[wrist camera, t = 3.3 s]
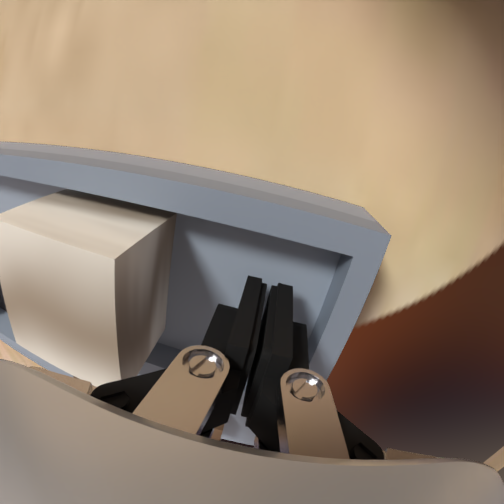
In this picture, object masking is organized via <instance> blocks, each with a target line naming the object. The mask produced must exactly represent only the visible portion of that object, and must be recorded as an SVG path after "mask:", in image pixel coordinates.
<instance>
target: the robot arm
mask: <svg viewBox="0 0 504 504" xmlns="http://www.w3.org/2000/svg"><path fill="white" fill-rule="evenodd" d="M266 289H267V284H266V283H262V278H258V277H254V276H250V275H248V277H247V280H246V284H245V287H244V290H243V294H242V297H241V300H240V303H239V307H238V308H235V307H231V306H227V305H223V304H218V305H217V308H216V310H215V312H214V315H213V317H212V320H211V322H210V324H209V327H208V329H207V332H206V334H205V336H204V339H203V341H202V343H201V345H195V346H190V347H187V348H185V349H183V350H182V351H181V352H180V353H179V354H178V355H177V356H176V358H175V359H174V360H173V361H172V363H171V364H170V365H169V367H168V368H166V369H162V370H158V371H154V372H151V373H147V374H143V375H139V376H135V377H130V378H126V379H122V380H118V381H113V382H109V383H105V384H102V385H100V386H98V387H95V386H92V384H91V382H89V381H85V380H81V379H77V378H74V377H70V376H66V375H63V374H59V373H56V372H52V371H49V370H46V369H43V368H40V367H33V366H32V367H27V366H24V365H21V364H18V363H15V362H13V361H8V360H3V359H0V504H504V483H503V481H502V479H501V477H500V475H499V474H498V472H497V471H496V470H495V469H494V468H492V467H490V466H488V465H486V464H484V463H480V462H477V461H473V460H467V459H459V458H436V457H434V456H428V455H422V454H416V453H410V452H405V451H400V450H395V449H390V448H387V449H386V450H385V451H383V450H382V449H381V448H380V447H379V446H378V445H377V443H375V442H374V441H373V440H372V439H371V438H369V437H368V436H367V435H366V434H364V433H363V432H362V431H361V430H360V429H358V428H357V427H356V426H355V425H354V424H352V423H351V422H350V421H349V420H347V419H346V418H345V417H344V416H343V415H341V414H340V413H339V412H338V411H337V410H336V407H335V404H334V400H333V397H332V393H331V390H330V387H329V385H328V383H327V381H326V380H325V379H324V378H323V377H322V376H321V375H319V374H318V373H316V372H314V371H311V370H309V357H308V338H307V325H306V324H302V323H298V322H293V286H290V285H286V284H282V283H278V284H277V286H274V285H272V286H271V289H270V292H269V296H268V299H267V303H266V306H265V310H264V313H263V307H264V301H265V295H266ZM262 313H263V317H262ZM261 319H262V320H261ZM247 379H248V380H247ZM246 382H247V386H246V391H245V396H244V401H243V406H242V411H241V416H242V417H247V418H246V423H245V426H246V427H249V429H250V430H251V431H252V432H253V433H254V434H255V435H256V436H255V439H254V448H250V447H245V446H241V445H236V444H231V443H227V442H223V441H218V440H214V439H211V436H212V434H213V432H214V428H216V427H218V426H220V425H223V424H225V423H227V422H228V420H229V416H230V414H233V415H236V413H237V410H238V407H239V404H240V400H241V397H242V394H243V391H244V388H245V385H246Z"/></svg>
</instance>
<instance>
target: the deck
mask: <svg viewBox="0 0 504 504" xmlns="http://www.w3.org/2000/svg"><path fill="white" fill-rule="evenodd" d="M65 189H71V190H76V191H80V192H85V193H90V194H94V195H99V196H104V197H108V198H113V199H117V200H122V201H126V202H131V203H135V204H140V205H144V206H149V207H153V208H158V209H162V210H166V211H171V212H175V213H177V217H176V224H175V232H174V240H173V248H172V257H171V266H170V276H169V287H168V298H167V311H166V325H165V330H164V332H163V333H162V335H161V337H160V338H159V340H158V341H157V343H156V345H155V346H154V348H153V350H152V351H151V353H150V355H149V356H148V358H147V360H146V361H145V363H144V365H143V366H142V368H141V370H140V371H139V373H138V375H137V376H139V375H143V374H147V373H151V372H154V371H158V370H162V369H166V368H168V367H169V365H170V364H171V363H172V361H173V360H174V359H175V358H176V356H177V355H178V354H179V353H180V352H181V351H182V350H183V349H185V348H187V347H190V346H195V345H201V343H202V341H203V339H204V336H205V334H206V332H207V329H208V327H209V324H210V322H211V320H212V317H213V315H214V312H215V310H216V308H217V305H218V304H223V305H227V306H231V307H235V308H238V307H239V303H240V300H241V297H242V294H243V290H244V287H245V284H246V280H247V277H248V275H250V276H254V277H258V278H262V283H266V284H267V289H266V295H265V301H264V307H263V313H264V310H265V306H266V303H267V299H268V296H269V292H270V289H271V286H272V285H274V286H277V284H278V283H282V284H286V285H290V286H293V322H298V323H302V324H306V325H307V338H308V357H309V370H311V371H314V372H316V373H318V374H319V375H321V376H322V377H323V378H324V379H325V380H327V378H328V377H329V375H330V373H331V371H332V369H333V367H334V365H335V364H336V362H337V360H338V358H339V356H340V354H341V352H342V350H343V348H344V346H345V344H346V342H347V340H348V337H349V336H350V333H351V332H352V329H353V327H354V325H355V323H356V321H357V319H358V317H359V314H360V312H361V310H362V308H363V305H364V303H365V301H366V299H367V296H368V294H369V292H370V289H371V287H372V285H373V282H374V280H375V277H376V275H377V272H378V270H379V267H380V265H381V262H382V260H383V257H384V254H385V252H386V249H387V246H388V244H389V241H390V238H391V235H390V234H389V233H388V232H387V231H386V230H385V229H384V228H383V227H382V226H381V225H380V224H379V223H378V222H377V221H376V220H375V219H374V218H373V217H372V216H371V215H370V214H369V213H368V212H367V211H366V210H365V209H364V208H363V207H360V206H357V205H354V204H350V203H347V202H343V201H340V200H336V199H333V198H329V197H326V196H322V195H319V194H315V193H311V192H307V191H304V190H300V189H296V188H292V187H288V186H284V185H280V184H276V183H272V182H268V181H264V180H260V179H255V178H251V177H247V176H242V175H238V174H233V173H228V172H224V171H219V170H214V169H209V168H204V167H199V166H194V165H189V164H184V163H178V162H173V161H167V160H161V159H155V158H149V157H143V156H136V155H130V154H123V153H116V152H109V151H101V150H93V149H85V148H76V147H67V146H56V145H45V144H32V143H17V142H0V213H3V212H5V211H7V210H10V209H12V208H15V207H17V206H20V205H23V204H25V203H28V202H31V201H33V200H36V199H39V198H41V197H44V196H47V195H50V194H53V193H56V192H59V191H62V190H65ZM263 313H262V317H263ZM261 320H262V319H261ZM0 340H2V341H3V342H5V343H6V344H8V345H9V346H10V347H12V348H13V349H15V350H16V351H18V352H19V353H21V354H23V355H24V356H26V357H27V358H29V359H31V360H32V361H34V362H35V363H37V364H39V365H40V366H42V367H44V368H46V369H47V370H49V371H52V372H56V373H59V374H63V375H66V376H70V377H73V375H71V374H69V373H67V372H65V371H63V370H61V369H59V368H58V367H56V366H54V365H52V364H50V363H48V362H47V361H45V360H43V359H42V358H40V357H38V356H36V355H35V354H33V353H31V352H30V351H28V350H27V349H25V348H23V347H22V346H20V345H19V344H17V343H16V340H15V337H14V334H13V331H12V327H11V324H10V320H9V317H8V313H7V309H6V305H5V301H4V297H3V292H2V288H1V283H0ZM247 380H248V379H247ZM246 386H247V382H246V385H245V388H244V391H243V394H242V397H241V400H240V404H239V407H238V410H237V413H236V415H233V414H230V416H229V420H228V422H227V423H225V424H224V428H223V432H222V435H221V439H226V440H230V441H235V442H240V443H244V444H249V445H254V439H255V436H256V435H255V434H254V433H253V432H252V431H251V430H250V429H249V427H246V426H245V423H246V418H247V417H242V416H241V411H242V406H243V401H244V396H245V391H246Z"/></svg>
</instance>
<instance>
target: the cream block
mask: <svg viewBox="0 0 504 504" xmlns="http://www.w3.org/2000/svg"><path fill="white" fill-rule="evenodd" d="M176 217H177V213H175V212H171V211H166V210H162V209H158V208H153V207H149V206H144V205H140V204H135V203H131V202H126V201H122V200H117V199H113V198H108V197H104V196H99V195H94V194H90V193H85V192H80V191H76V190H71V189H65V190H62V191H59V192H56V193H53V194H50V195H47V196H44V197H41V198H39V199H36V200H33V201H31V202H28V203H25V204H23V205H20V206H17V207H15V208H12V209H10V210H7V211H5V212H3V213H0V283H1V288H2V292H3V297H4V301H5V305H6V309H7V313H8V317H9V320H10V324H11V327H12V331H13V334H14V337H15V340H16V343H17V344H19V345H20V346H22V347H23V348H25V349H27V350H28V351H30V352H31V353H33V354H35V355H36V356H38V357H40V358H42V359H43V360H45V361H47V362H48V363H50V364H52V365H54V366H56V367H58V368H59V369H61V370H63V371H65V372H67V373H69V374H71V375H73V376H75V377H77V378H79V379H81V380H85V381H89V382H91V384H92V385H93V386H95V387H98V386H100V385H102V384H105V383H109V382H113V381H118V380H122V379H126V378H130V377H135V376H137V375H138V373H139V371H140V370H141V368H142V366H143V365H144V363H145V361H146V360H147V358H148V356H149V355H150V353H151V351H152V350H153V348H154V346H155V345H156V343H157V341H158V340H159V338H160V337H161V335H162V333H163V332H164V330H165V325H166V311H167V298H168V287H169V276H170V266H171V257H172V248H173V240H174V232H175V224H176Z"/></svg>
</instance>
